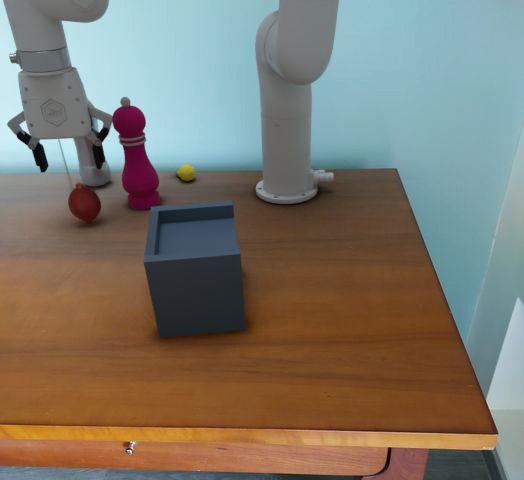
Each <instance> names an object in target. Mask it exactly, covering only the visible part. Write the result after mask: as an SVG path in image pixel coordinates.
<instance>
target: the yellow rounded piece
mask: <svg viewBox="0 0 524 480" xmlns="http://www.w3.org/2000/svg"><path fill="white" fill-rule="evenodd" d="M174 175H175V176H176V177H179V178H180V179H181V180H182V181H185V182H189V181H192V180H193V179H194V178H195V176H196V170H195V168H194V167H193V165H191V164H188V163H186V164H182V165H181V166H180V167H179V168H178V169H176V170H175V171H174Z"/></svg>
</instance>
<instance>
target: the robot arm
mask: <svg viewBox="0 0 524 480" xmlns="http://www.w3.org/2000/svg"><path fill="white" fill-rule="evenodd" d="M2 2H3V6H4V9H5V12H6V16H7V20H8V24H9V27H10V30H11V34H12V37H13V41H14V45H15V48H16V50H15V52H13V53H9V54H8V56H9V57H8V58H9V62H10V63H11V64H16V65H18V66H19V68H20V71H19V72H18V73H17V81H18V89H19V95H20V100H21V105H22V111H21V112H19V113H18V114H16V115H15V116H14V117H12V118H10V119H9V120H8V122H7V123H6V125H7V127H8V128H9V129H10V131H11V132H12V133H13V134H14V135H15V136H16V139H17V140H19V141H20V142H21V143H23V144H24V145H25V146H27V148H28V149H29V150H30V151H31V152H32V155H33V159H34V162H35V166H36V167H38V168H39V170H40V173H42V174H43V173H46V172H47V170H48V169H49V166H50V165H49V161H48V159H47V154H46V151H45V147H44V145H43V144H42V143H41V140H64V139H65V140H66V139H73V138H81V137H85V136H86V137H87V138H88V139H89V140H90V141H91V142H92V143H93V146H92V150H93V155H94V159H95V164H96V168H97V169H101V168H102V165H103V163H105V158H106V155H105V151H104V147H103V146H104V145H103V143H104V141H105V140H106V139H107V137H108V136H109V134H110V131H111V127H112V126H113V123H112V121H113V114H109V113H108V112H106V111H103V110H101V109H99V108H97V107H95V106H94V107H95V108H94V107H92V106H90V105H89V103H88V100H89V99H88V96H87V93H85V92H86V90H85V86H84V83H83V80H82V78H81V76H80V74H79V70H78V69H77V67H75V66H73V65H72V61H71V57H70V52H69V48H68V47H69V46H68V43H67V39H66V38H67V37H66V33H65V29H64V25H63V22H71V23H81V24H88V23H94V22H97V21H98V20H100V19H101V18H103V16H104V15H105V14H106V12H107V11H108V8H109V4H110V0H2ZM339 4H340V0H278V10H277V9H276V10H275V11H272V12H270V13H269V14H267V15H266V16H265V17H264V18H263V19H262V21H261V22H260V24H259V26H258V28H257V31H256V35H255V42H254V53H255V62H256V69H257V76H258V84H259V85H258V86H259V101H260V102H259V103H260V132H261V133H260V134H261V158H262V159H261V161H262V180H260V181H259V182H257V184H256V186H255V194H256V196H257V197H258V198H259V199H261V200H263V201H265V202H267V203H271V204H277V205H293V204H294V205H295V204H300V203H304V202H307V201H309V200H311V199H312V198H314V197H315V196H317V193H318V184H321V183H324V184H326V183H327V184H328V183H333V182H334V178H335V177H334V175H335V174H334V172H326V170H325V169H318V170H314V169H313V168H312V166H311V156H312V155H311V152H312V151H311V148H312V111H313V107H312V106H313V93H312V92H313V91H312V84H313V83H315V82H317V80H319V79H320V78H321V77H322V76H323V74H324V73H325V72H326V70H327V69H328V66H329V64H330V61H331V58H332V55H333V49H334V44H335V36H336V28H337V20H338V12H339ZM82 83H83V84H82ZM83 86H84V87H83ZM92 117H94V118H96V119H98V121H101V122H102V128H101V129H100V130H99V132H98V131H97V130H96V129H95V128H93V118H92ZM24 122H25V123H26V127H27V131H28V132H27V131H26V130H24V129H23V128H22V126H21V124H22V123H24Z"/></svg>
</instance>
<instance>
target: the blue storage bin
mask: <svg viewBox="0 0 524 480" xmlns="http://www.w3.org/2000/svg"><path fill="white" fill-rule="evenodd" d="M234 207H235V206H234V200H222V201H207V202H194V203H184V204H183V203H182V204H181V203H180V204H167V205H157V206H154V207H151V208H150V213H149V220H148V228H147V234H146V235H147V236H146V242H145V248H144V249H145V250H144V258H143V265H144V270H145V275H146V281H147V285H148V291H149V294H150V300H151V305H152V309H153V314H154V319H155V323H156V329H157V334H158V338H159V339H163V338H172V337H184V336H185V337H186V336H196V335H206V334H216V333H217V334H218V333H227V332H229V333H230V332H238V331H239V332H240V331H247V327H246V325H247V324H246V312H245V311H246V310H245V297H244V295H245V294H244V284H243V283H244V282H243V270H242V269H243V268H242V267H243V266H242V255H241V248H240V247H239V239H238V234H237V226H236V219H235V209H234Z"/></svg>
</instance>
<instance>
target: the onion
mask: <svg viewBox="0 0 524 480" xmlns="http://www.w3.org/2000/svg"><path fill="white" fill-rule="evenodd" d="M74 186H75V187H74V188H73V189H72V190H71V192H70V193H69V196H68V200H67V205H68V209H69V211H70V213H71V214H72V215H73V217H74V218H76V219H78V220H81V221H82V222H85V223H86V224H91V223H93V222H94V221H95V220H96V219H97V217H98V216H99V215H100V213H101V210H102V202H101V199H100V197H99V195H98V194H97V192H95V190H93V189H92V188H91V187H90V186H88V185H84V184H83V183H81V182H77V183H75V184H74Z"/></svg>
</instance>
